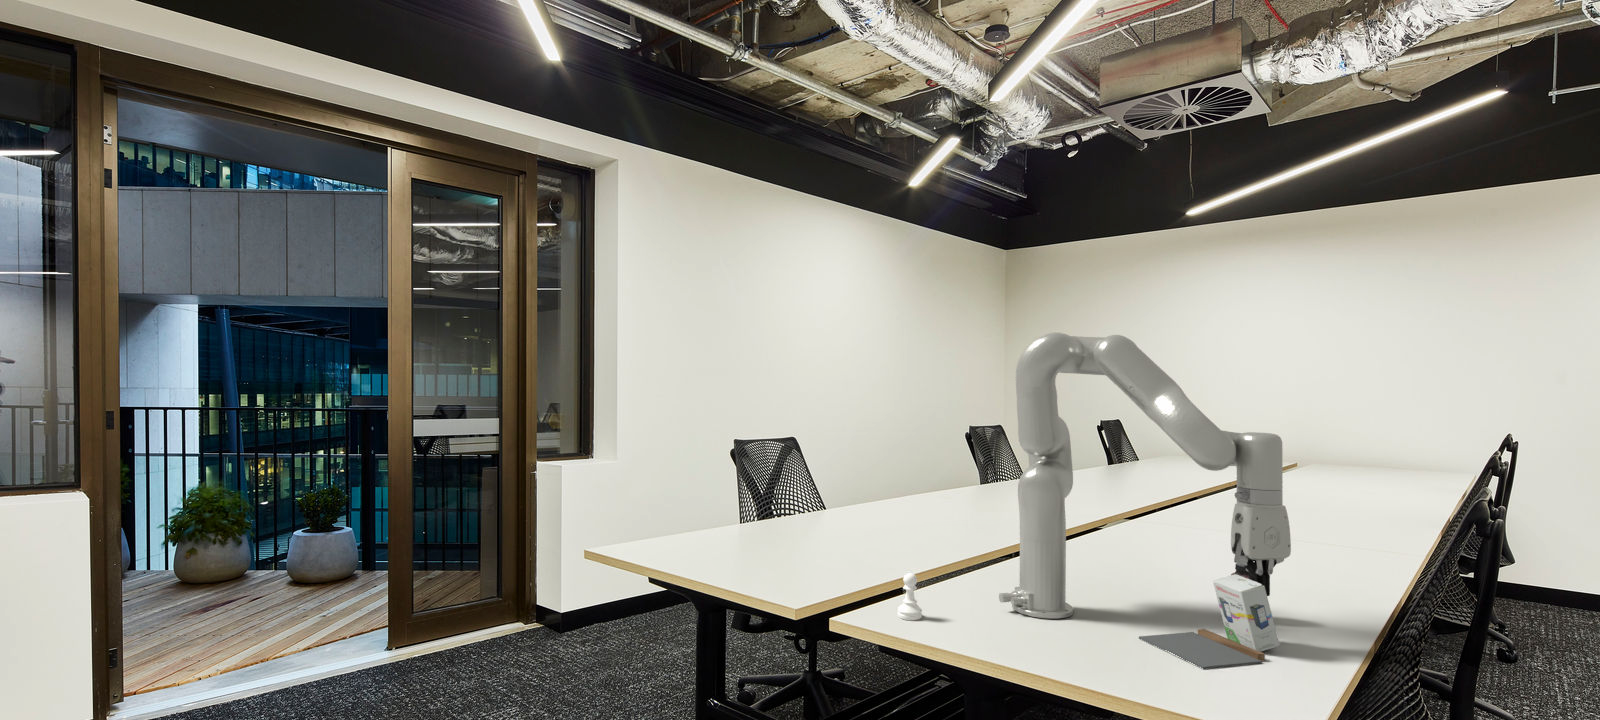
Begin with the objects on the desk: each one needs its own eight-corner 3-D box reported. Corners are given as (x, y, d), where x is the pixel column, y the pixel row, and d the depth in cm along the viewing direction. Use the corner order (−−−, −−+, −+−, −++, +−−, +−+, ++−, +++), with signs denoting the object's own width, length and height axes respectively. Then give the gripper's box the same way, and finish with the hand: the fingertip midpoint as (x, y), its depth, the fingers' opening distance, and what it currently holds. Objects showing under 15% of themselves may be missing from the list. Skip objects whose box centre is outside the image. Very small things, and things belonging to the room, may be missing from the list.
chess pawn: (910, 611, 160) (911, 569, 161) (926, 618, 156) (927, 574, 156) (892, 615, 158) (893, 572, 158) (908, 622, 153) (909, 577, 154)
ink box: (1281, 647, 139) (1267, 584, 139) (1255, 654, 138) (1241, 591, 138) (1248, 631, 147) (1235, 572, 148) (1224, 638, 147) (1211, 579, 147)
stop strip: (1258, 661, 135) (1258, 654, 135) (1197, 635, 148) (1197, 629, 148) (1264, 660, 135) (1264, 653, 135) (1203, 635, 148) (1203, 628, 149)
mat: (1203, 669, 130) (1203, 666, 130) (1138, 638, 146) (1138, 636, 146) (1261, 663, 134) (1261, 661, 134) (1192, 633, 149) (1192, 631, 149)
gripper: (1244, 501, 139) (1244, 602, 138) (1307, 499, 143) (1308, 597, 142) (1211, 495, 146) (1211, 591, 145) (1273, 493, 150) (1273, 586, 149)
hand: (1259, 594), depth 144 cm, fingers closed
